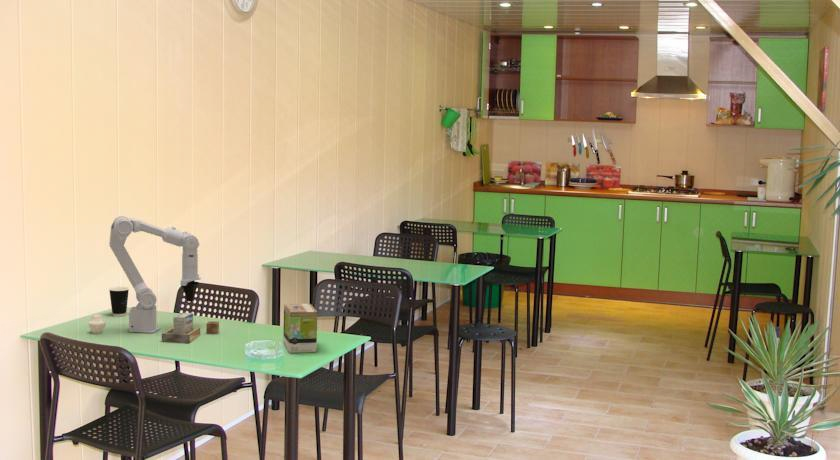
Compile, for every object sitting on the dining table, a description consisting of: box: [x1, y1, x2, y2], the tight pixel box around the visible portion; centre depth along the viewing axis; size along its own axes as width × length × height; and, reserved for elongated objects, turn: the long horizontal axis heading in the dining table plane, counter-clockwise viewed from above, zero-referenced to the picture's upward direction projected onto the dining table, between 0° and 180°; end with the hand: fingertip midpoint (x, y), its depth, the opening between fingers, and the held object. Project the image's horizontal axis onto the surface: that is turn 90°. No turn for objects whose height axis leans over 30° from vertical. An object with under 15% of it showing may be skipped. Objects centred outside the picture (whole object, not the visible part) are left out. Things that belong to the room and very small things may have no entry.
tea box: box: [282, 303, 318, 354], centre depth 321 cm, size 15×10×15 cm, turn 17°
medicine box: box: [172, 312, 194, 334], centre depth 331 cm, size 8×4×9 cm, turn 172°
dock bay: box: [161, 326, 201, 344], centre depth 331 cm, size 10×12×3 cm
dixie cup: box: [108, 286, 130, 317], centre depth 366 cm, size 8×8×11 cm
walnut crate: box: [205, 320, 220, 335], centre depth 341 cm, size 4×4×4 cm
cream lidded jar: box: [88, 313, 107, 335], centre depth 336 cm, size 6×6×7 cm
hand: (190, 301), depth 347 cm, fingers closed
